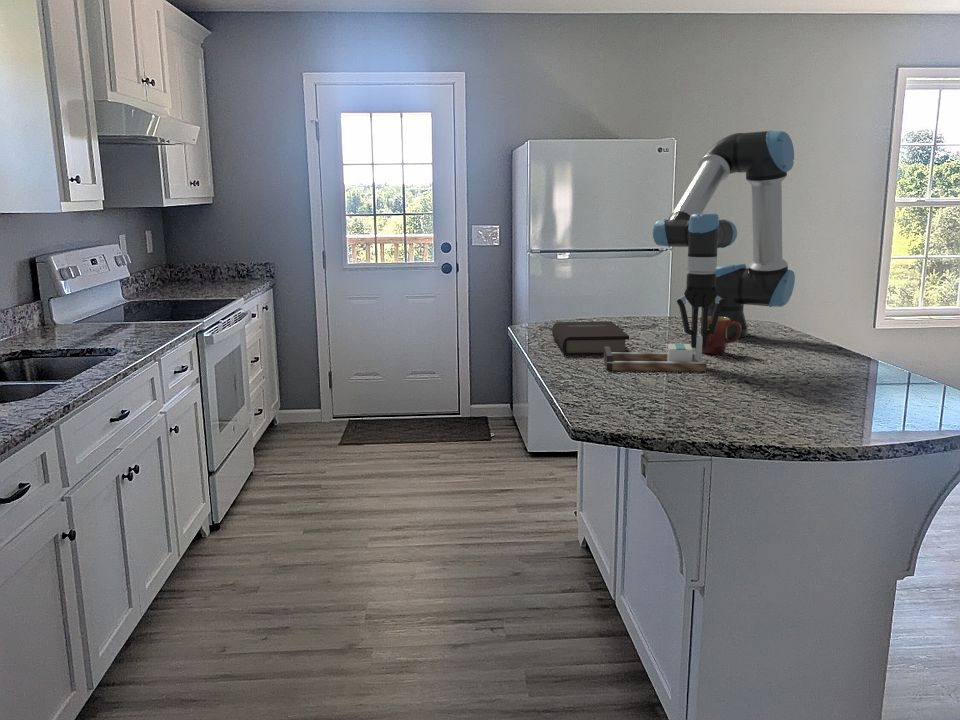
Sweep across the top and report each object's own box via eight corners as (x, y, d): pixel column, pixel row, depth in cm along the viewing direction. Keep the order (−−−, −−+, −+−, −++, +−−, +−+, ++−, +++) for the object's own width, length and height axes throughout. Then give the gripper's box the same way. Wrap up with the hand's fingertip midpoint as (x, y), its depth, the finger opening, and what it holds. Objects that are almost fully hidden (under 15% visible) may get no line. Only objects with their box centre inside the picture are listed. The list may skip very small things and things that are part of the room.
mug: (694, 354, 230) (696, 319, 228) (700, 349, 238) (701, 315, 235) (737, 357, 225) (739, 321, 223) (741, 351, 233) (743, 317, 231)
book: (552, 340, 258) (552, 322, 257) (611, 339, 259) (611, 321, 257) (562, 356, 231) (562, 337, 230) (628, 355, 231) (629, 336, 230)
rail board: (697, 360, 221) (697, 346, 220) (706, 371, 208) (706, 356, 207) (603, 360, 223) (603, 346, 223) (606, 370, 210) (607, 355, 209)
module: (689, 363, 218) (690, 343, 217) (691, 369, 211) (692, 348, 209) (667, 363, 219) (667, 342, 218) (668, 369, 212) (669, 348, 210)
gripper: (723, 271, 212) (719, 356, 217) (674, 271, 214) (671, 356, 218) (729, 273, 205) (725, 362, 210) (678, 273, 206) (675, 362, 211)
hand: (697, 359), depth 214 cm, fingers closed
